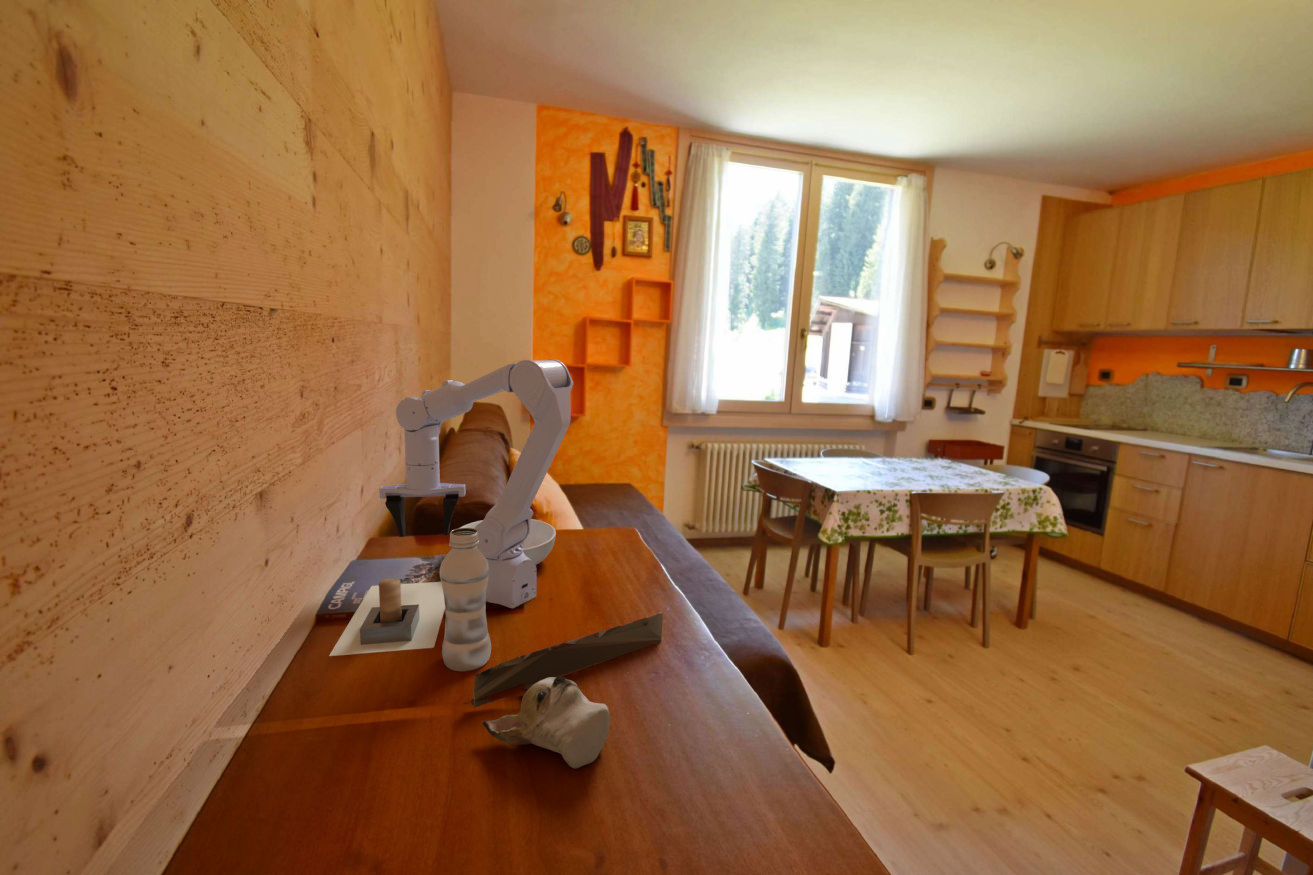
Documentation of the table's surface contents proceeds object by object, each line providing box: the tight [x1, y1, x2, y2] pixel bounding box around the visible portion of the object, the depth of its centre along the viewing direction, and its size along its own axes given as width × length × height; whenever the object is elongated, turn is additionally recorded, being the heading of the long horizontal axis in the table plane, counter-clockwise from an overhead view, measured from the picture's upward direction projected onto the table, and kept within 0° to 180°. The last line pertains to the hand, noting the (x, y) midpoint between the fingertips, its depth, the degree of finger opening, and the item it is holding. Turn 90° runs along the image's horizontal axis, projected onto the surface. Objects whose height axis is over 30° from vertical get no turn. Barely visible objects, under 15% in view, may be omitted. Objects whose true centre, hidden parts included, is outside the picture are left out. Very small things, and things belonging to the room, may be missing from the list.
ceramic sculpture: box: [481, 676, 611, 770], centre depth 66 cm, size 11×9×15 cm
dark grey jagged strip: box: [470, 611, 664, 709], centre depth 81 cm, size 30×1×5 cm, turn 127°
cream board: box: [328, 581, 445, 657], centre depth 94 cm, size 24×14×1 cm, turn 13°
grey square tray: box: [360, 604, 420, 645], centre depth 88 cm, size 7×7×2 cm
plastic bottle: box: [439, 527, 492, 672], centre depth 80 cm, size 6×7×20 cm
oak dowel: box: [378, 577, 402, 623], centre depth 88 cm, size 3×3×8 cm
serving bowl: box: [459, 518, 557, 566], centre depth 118 cm, size 21×21×7 cm
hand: (424, 534), depth 106 cm, fingers open, 7 cm apart
